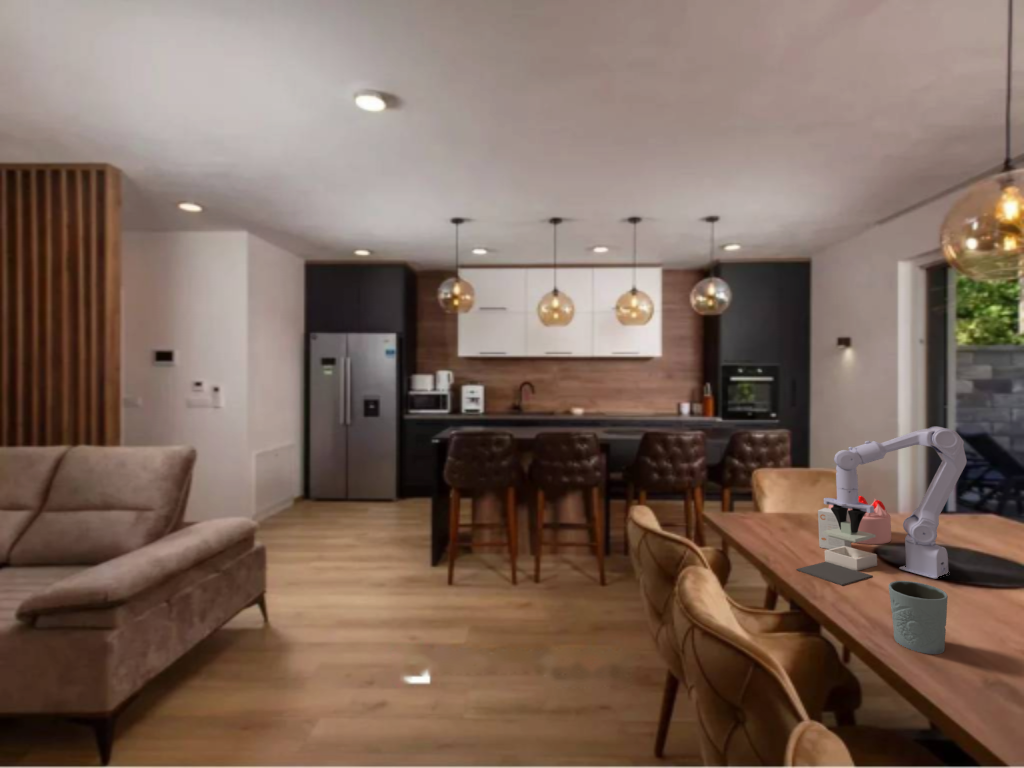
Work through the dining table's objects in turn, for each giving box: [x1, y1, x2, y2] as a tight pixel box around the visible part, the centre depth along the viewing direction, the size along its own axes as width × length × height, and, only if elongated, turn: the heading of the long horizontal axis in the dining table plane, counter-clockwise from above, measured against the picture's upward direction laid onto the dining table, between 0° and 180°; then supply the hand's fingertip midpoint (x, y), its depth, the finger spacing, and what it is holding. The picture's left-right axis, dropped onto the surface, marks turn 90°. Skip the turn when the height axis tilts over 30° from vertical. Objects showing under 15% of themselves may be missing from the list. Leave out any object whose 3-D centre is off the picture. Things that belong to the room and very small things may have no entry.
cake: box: [827, 495, 892, 545], centre depth 186 cm, size 20×20×14 cm
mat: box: [795, 561, 873, 586], centre depth 151 cm, size 14×14×1 cm
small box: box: [817, 507, 852, 550], centre depth 175 cm, size 8×6×13 cm
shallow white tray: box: [824, 546, 878, 572], centre depth 159 cm, size 10×10×4 cm
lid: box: [823, 521, 876, 544], centre depth 159 cm, size 10×10×5 cm
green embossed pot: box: [888, 580, 949, 655], centre depth 109 cm, size 10×10×12 cm
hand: (848, 530), depth 159 cm, fingers closed on lid, 3 cm apart
